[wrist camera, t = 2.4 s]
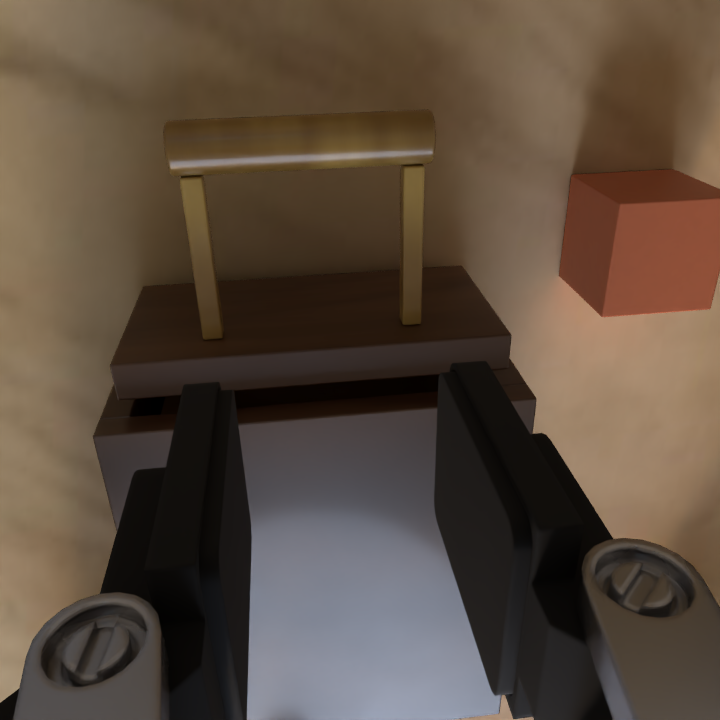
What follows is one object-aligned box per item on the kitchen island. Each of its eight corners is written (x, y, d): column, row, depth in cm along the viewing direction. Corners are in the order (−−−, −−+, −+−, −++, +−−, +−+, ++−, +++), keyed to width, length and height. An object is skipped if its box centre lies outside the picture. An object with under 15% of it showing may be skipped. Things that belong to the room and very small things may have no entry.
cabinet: (138, 319, 26) (91, 436, 19) (468, 296, 27) (537, 398, 20) (192, 597, 33) (173, 756, 26) (453, 569, 34) (499, 714, 27)
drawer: (107, 100, 21) (56, 134, 16) (471, 85, 22) (532, 114, 17) (195, 566, 31) (181, 682, 26) (447, 540, 32) (483, 646, 27)
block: (558, 275, 27) (601, 318, 24) (570, 174, 25) (620, 203, 22) (654, 269, 27) (710, 309, 24) (674, 168, 26) (738, 196, 22)
